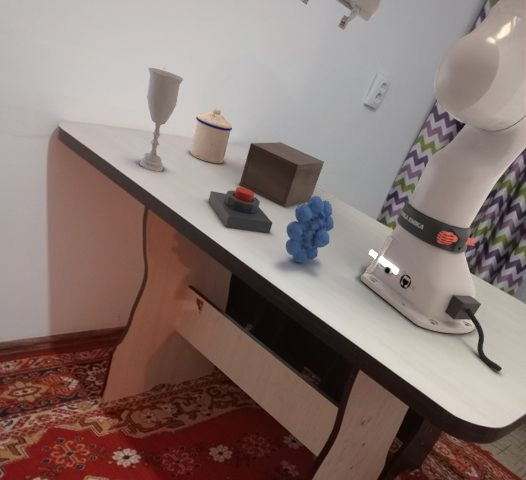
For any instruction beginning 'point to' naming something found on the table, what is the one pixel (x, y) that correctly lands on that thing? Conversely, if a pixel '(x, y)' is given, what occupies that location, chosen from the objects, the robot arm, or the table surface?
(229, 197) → the control block
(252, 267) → the table surface
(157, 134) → the chalice
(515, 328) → the table surface
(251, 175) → the cabinet
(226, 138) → the lidded canister
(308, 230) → the grapes
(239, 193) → the button
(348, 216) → the table surface
